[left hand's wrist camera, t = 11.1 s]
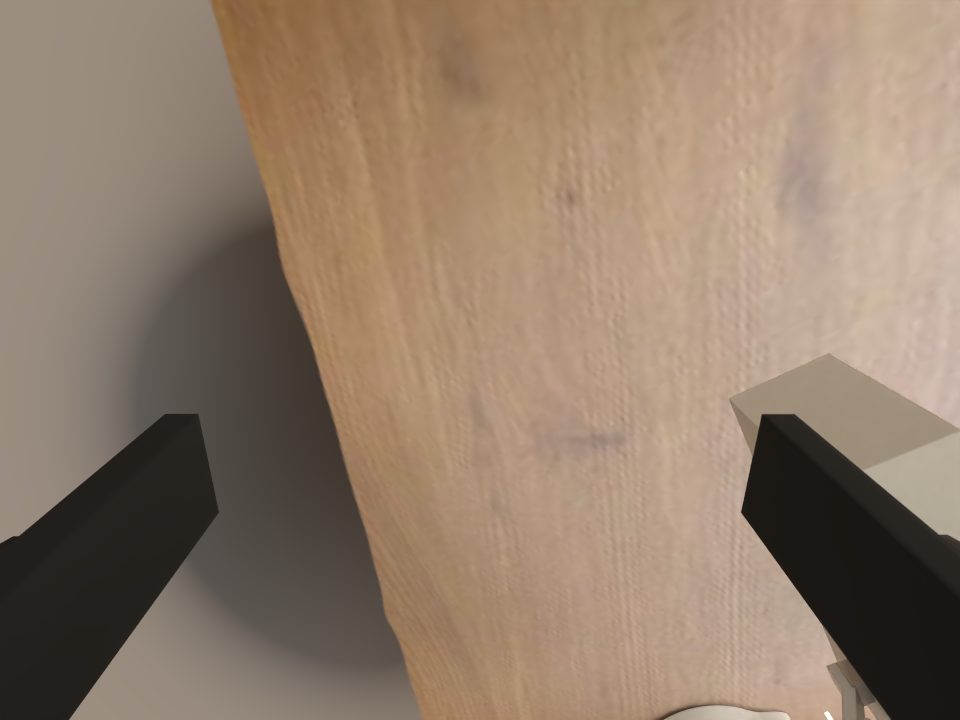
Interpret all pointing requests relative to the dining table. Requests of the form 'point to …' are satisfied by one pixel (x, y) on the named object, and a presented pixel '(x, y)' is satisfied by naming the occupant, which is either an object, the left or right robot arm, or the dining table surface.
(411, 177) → the dining table surface
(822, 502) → the left robot arm
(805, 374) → the bar
